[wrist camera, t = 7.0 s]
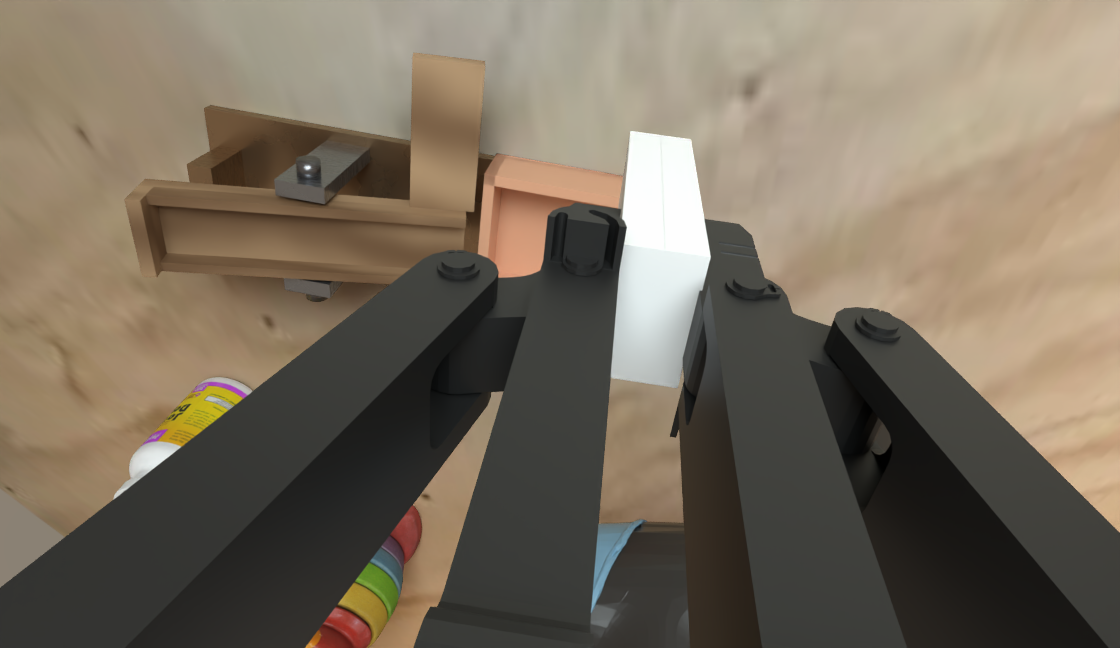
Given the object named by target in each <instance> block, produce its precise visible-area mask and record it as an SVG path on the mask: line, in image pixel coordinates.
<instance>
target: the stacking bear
mask: <svg viewBox="0 0 1120 648" xmlns="http://www.w3.org/2000/svg"><path fill="white" fill-rule="evenodd" d="M421 530H422V529H421V520H420V516H419V513H418V511H417V510H416V508H415V507H414V506H411V508H410V509H409V510H408V512H407V513H406V514H405V516H404V517H403V518H402V520H401V521H400V522H399V524H398V525H397V526H396V528H395V529H394V530H393V532H392V533H391V534H390V536H389V537H388V538H387V540H386V541H385V542H384V544H383V545H382V546H381V547H380V549H379V550H378V551H377V553H376V554H375V555H374V557H373V558H372V559H371V561H370V562H369V563H368V565H367V566H366V567H365V569H364V570H363V571H362V573H361V574H360V575H359V577H358V578H357V579H356V581H355V582H354V583H353V585H352V586H351V587H350V589H349V590H348V591H347V593H346V594H345V595H344V597H343V598H342V599H341V601H340V602H339V603H338V605H337V606H336V607H335V609H334V610H333V611H332V613H331V614H330V615H329V617H328V618H327V619H326V621H325V622H324V623H323V625H322V626H321V627H320V629H319V630H318V631H317V633H316V634H315V635H314V636H313V638H312V639H311V640H310V642H309V643H308V644H307V646H306V647H305V648H368V647H369V646H371V645H372V644H373V643H374V642H375V641H376V639H377V638H378V636H379V635H380V633H381V632H382V630H383V628H384V627H385V625H386V623H387V622H388V621H389V619H390V617H391V615H392V614H393V612H394V610H395V607H396V605H397V602H398V599H399V596H400V593H401V588H402V582H403V569H404V564H405V563H406V562H407V561H408V560H409V559H410V558H411V557H412V555H413V554H414V552H415V550H416V548H417V546H418V544H419V541H420V538H421Z"/></svg>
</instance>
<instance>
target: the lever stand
mask: <svg viewBox="0 0 1120 648" xmlns="http://www.w3.org/2000/svg"><path fill="white" fill-rule="evenodd" d="M204 111H205V118H206V125H207V131H208V138H209V145H210V151H209V152H207V153H206V154H204V155H202V156H201V157H199V158H197V159H195V160H194V161H192V162H190V163H188V164H187V169H188V175H189V180H190V183H202V184H214V185H227V186H239V187H251V188H264V189H275V193H276V195H277V196H282V197H288V198H293V199H299V200H304V201H310V202H315V203H321V204H326V203H327V202H328V201H329V200H330V199H331V198H332V197H333V196H334V195H335V194H338V195H350V196H363V197H375V198H387V199H400V200H410V164H411V141H408V140H402V139H397V138H391V137H386V136H380V135H374V134H369V133H363V132H358V131H352V130H346V129H341V128H335V127H330V126H324V125H318V124H313V123H307V122H302V121H296V120H290V119H285V118H279V117H274V116H268V115H262V114H257V113H251V112H246V111H240V110H234V109H229V108H223V107H218V106H212V105H210V106H208V107H206V108H204ZM494 157H495V156H492V155H486V154H481V153H478V166H477V179H476V192H475V205H474V212H468V211H466V228H465V233H464V248H463V250H465V251H467V252H471V253H477V254H478V245H479V233H480V221H481V209H482V197H483V185H484V174H485V172H486V170H487V169H488V167H489V165H490V164H491V162H492V160H493V159H494ZM341 284H342V281H325V280H308V279H291V278H284V285H285V290H289V291H294V292H300V293H305V294H306V298H307V299H308V300H310V301H313V302H320V301H324V300H326V299H327V298H330V297H331V296H332V295H333V294H334V292H335V291H336V290H337V289H338V287H339V286H340V285H341Z"/></svg>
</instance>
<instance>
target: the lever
mask: <svg viewBox="0 0 1120 648" xmlns="http://www.w3.org/2000/svg"><path fill="white" fill-rule="evenodd" d="M484 75H485V61H479V60H471V59H463V58H454V57H446V56H437V55H429V54H421V53H413V62H412V113H411V164H410V200H400V199H387V198H375V197H363V196H350V195H338V194H335V195H334V196H333V197H332V198H331V199H330V200H329V201H328V202H327V203H326V204H321V203H315V202H310V201H304V200H299V199H293V198H288V197H282V196H277V195H276V193H275V189H264V188H251V187H239V186H227V185H214V184H202V183H189V182H177V181H165V180H152V179H145V180H144V181H143V182H142V183H141V184H140V185H139V186H138V187H137V188H136V189H135V190H134V191H132V192H131V193H130V194H129V195H128V196H127V197H126V198H125V199H124V200H125V204H126V208H127V213H128V217H129V221H130V226H131V230H132V234H133V239H134V243H135V247H136V252H137V256H138V260H139V265H140V269H141V273H142V277H158V275H159V274H160V272H161V271H172V272H189V273H206V274H223V275H240V276H257V277H274V278H291V279H308V280H325V281H342V282H359V283H376V284H391V283H393V282H394V281H395V280H396V279H398V278H399V277H400V276H402V275H403V274H404V273H405V272H407V271H408V270H409V269H411V268H412V267H413V266H414V265H416V264H417V263H418V262H420V261H421V260H422V259H424V258H426V257H428V256H430V255H432V254H435V253H440V252H444V251H447V250H455V251H457V250H463V248H464V233H465V228H466V211H468V212H474V205H475V192H476V179H477V166H478V153H479V140H480V127H481V114H482V101H483V88H484Z"/></svg>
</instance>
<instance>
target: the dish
mask: <svg viewBox="0 0 1120 648" xmlns="http://www.w3.org/2000/svg"><path fill="white" fill-rule="evenodd" d="M622 180H623V176H620V175H614V174H609V173H603V172H598V171H592V170H586V169H581V168H575V167H570V166H564V165H558V164H553V163H547V162H542V161H536V160H530V159H525V158H519V157H514V156H508V155H502V154H496V155H495V157H494V159H493V160H492V162H491V164H490V165H489V167H488V169H487V170H486V172H485V174H484V185H483V197H482V209H481V221H480V233H479V245H478V254H479V255H482V256H484V257H487V258H489V259H490V260H491V261H492V262H494V263H495V264H496V265H497V269H498V272H499V274H498V278H504V277H521V276H526V275H530V274H533V273H536V272H538V271H540V269H541V266H542V263H543V257H544V247H545V238H546V228H547V218H548V215H549V214H550V213H551V212H552V211H553V210H555V209H558V208H561V207H567V206H571V205H572V204H574V203H575V202H576V203H583V204H590V205H597V206H604V207H611V208H618V205H619V199H620V193H621V187H622Z"/></svg>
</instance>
